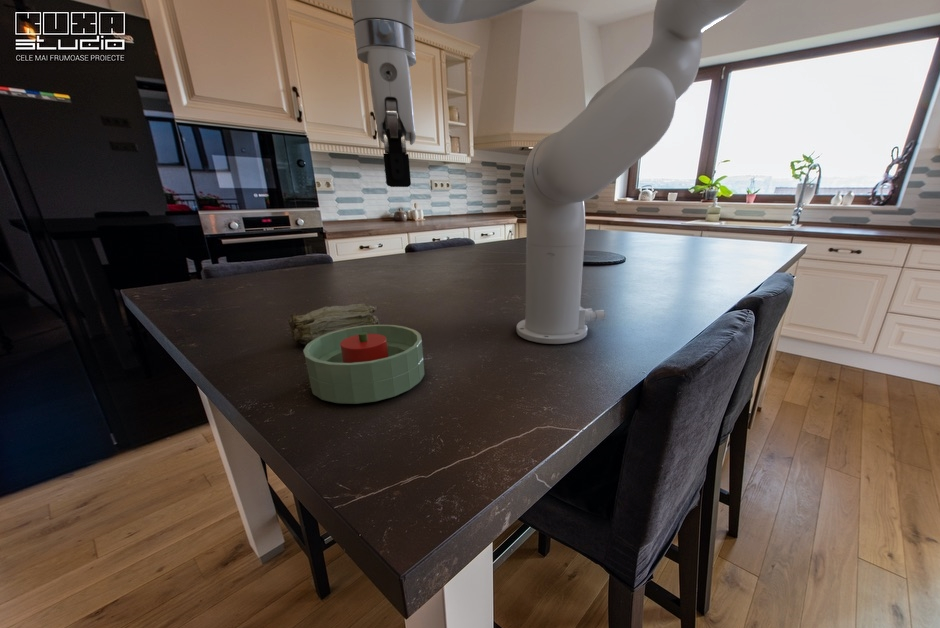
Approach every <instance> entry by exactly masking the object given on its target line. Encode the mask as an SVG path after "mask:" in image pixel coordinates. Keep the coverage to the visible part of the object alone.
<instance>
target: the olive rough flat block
mask: <svg viewBox="0 0 940 628" xmlns="http://www.w3.org/2000/svg"><path fill="white" fill-rule="evenodd" d="M377 308H378V305H371V304H369V305H366V304H365V302H362V303H356V304H355V303H350V304H348V305H332V306H330V305H329V306H326V305H325V306H323V307H321V308H318V309H314V310H312V311H310V312H307V313H305V314H302V315H299V314H297V313H292V314H291V315H290V318H289V319H288V324H289V327H290V330H289V331H290V336H291V338H293V340H294V341H295V342H296V343H299V344H301V345H303V346H306V345H307V344H308V343H309V342H311V341H312V340H314V339H315V338H317V337H320V336H322V335H325V334H327V333H330V332H334V331H337V330H341V329H345V328H351V327H357V326H365V325H381V323H380V322H379V317H378V316H377V315H373V313H375V312H376V311H377Z"/></svg>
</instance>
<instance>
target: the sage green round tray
mask: <svg viewBox="0 0 940 628" xmlns="http://www.w3.org/2000/svg"><path fill="white" fill-rule="evenodd" d="M362 332H366V333H367V334H380V335H383V336H385V337H386V340H387V349H388V357H387V358H382V359H377V360H373V361H366V362H355V363H343V359H342V352H341V346H340V343H341V341H343V340H344V339H346V338H348V337H351V336H355V335H358V334H359V333H362ZM302 353H303V357H304V363H305V366H306V367H305V369H306V372H307V377H308V382H309V388H310V390H311V393H312V395H313V396H315V397H317V398H319V399H320V400H322V401H326V402H330V403H334V404H347V405H348V404H349V405H350V404H351V405H352V404H353V405H358V404H367V403H375V402H379V401H383V400H386V399H391V398H393V397H396V396H399V395H401V394H403V393H405V392H408V391H410V390H411V389H413V388H414V387H415V386H417V385H418V384H419V383H421V381H422V380H423V378H424V377H425V376H426V375H425V374H426V373H425V372H426V371H425V361H424V349H423V340H422V334H421V333H420V332H419V331H417V330H416V329H413V328H411V327H407V326H403V325H396V324H380V325H365V326H357V327H351V328H345V329H341V330H337V331H334V332H330V333H327V334H325V335H322V336H320V337H317V338H315V339H314V340H312V341H311V342H309V343H308V344H307V345H305V346H304V348H303V350H302Z"/></svg>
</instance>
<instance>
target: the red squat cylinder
mask: <svg viewBox="0 0 940 628" xmlns="http://www.w3.org/2000/svg"><path fill="white" fill-rule="evenodd" d="M340 346H341V352H342V359H343V363H355V362H366V361H373V360H377V359H382V358H387V357H388V349H387V340H386V337H385V336H383V335H380V334H367V333H366V332H362V333H359V334H358V335H355V336H351V337H348V338H346V339H344V340H343V341H341V343H340Z"/></svg>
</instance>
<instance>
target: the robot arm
mask: <svg viewBox="0 0 940 628" xmlns="http://www.w3.org/2000/svg"><path fill="white" fill-rule="evenodd" d="M536 1H537V0H416V3H417V5H418V7H419V9H421V11H422V12H423V14H425V16H426V17H428V18H429V19H430V20H432V21H434V22H436V23H439V24H444V25H454V24H455V25H456V24H462V23H469V22H473V21H479V20H480V21H481V20H484V19H489V18H493V17H496V16H500V15H502V14H505V13H508V12H510V11H513V10H516V9H518V8H520V7H523V6H526V5H529V4H531V3H534V2H536ZM748 1H749V0H656V2H655V7H654V10H653V21H652V22H653V23H652V38H651V42H650V44H649V46H648V48H646V50H645V51H644V52H642V54H640V56H638V58H636V59H635V60H634V61H633V62H632V63H631V64H630V65H629V66H628V67H627V68H626V69H625V70H623V72H621V73H620V74H619V75H618V76H616V78H614V79H612V80H611V81H610V82H608V83H607V84H605V85H603V87H601V88H600V89H599V90H598V91H597V92H596V93H595V94H594V95H593V97H592V98H591V99H590V100H589V102H588V103H587V104H586V107H585V109H583V110H582V111H581V112H580V113H579V114H578V115H577V116H575V117H574V119H572V120H571V121H570V122H569V123H567V124H566V125H565V126H564V127H562V129H560V130H559V131H556V132H554V133H552V134H550V135H547V136H545V137H544V138H542V139H541V140H540V141H538V142H537V143H536V144H535V145H534V146H533V147H532V149H531V151H530V152H529V154H528V156H527V159H526V162H525V166H524V173H523V176H524V177H523V179H524V180H523V184H524V185H523V186H524V196H525V197H524V198H525V216H526V235H525V236H526V241H525V246H526V247H525V305H524V307H525V311H524V318H523V319H522V320H520V321H519V322H517V324H516V334H517V335H518V336H519V337H520V338H522V339H524V340H526V341H530V342H534V343H537V344H545V345H564V344H572V343H576V342H579V341H581V340H583V339H585V338H586V337H587V335H588V326H587V325H586V324H589V323H590V322H604V321H605V320H606V317H607V315H606V311H605V310H604V309H599V310H598V309H597V310H593V308H590V307H589V308H584V307H582V306H581V299H582V286H583V285H582V284H583V266H584V252H585V242H586V241H585V239H586V209H585V201H588V200H590V199H592V198H594V197H595V196H597V195H599V194H600V193H601V192H602V191H604V190H605V189H606V188H607V187H609V186H610V185H611V184H612V183H613V182H615V181H616V180H617V179H619V178H620V176H622V175H623V174H625V172H626V171H627V170H629V169H631V167H632V166H634V165H635V164H636V163H637V162H638V161H639V160H640V159H641V158H643V157H644V156H645V155H646V154H647V153H648V152H650V151H651V150H652V149H653V148H654V147H655V146H656V145H657V144H658V143H659V142H660V141H661V140H662V139H663V137H664V136H665V135H666V133H667V132H668V130H669V128H670V127H671V125H672V122H673V119H674V117H675V113H676V107H677V106H676V105H677V101H679V99H681V98H682V97H683V96H684V95H685V94H686V92H687V91H688V90H689V89H690V88H691V86H692V85H693V84H694V82H695V80H696V78H697V75H698V72H699V70H700V69H699V68H700V64H701V59H702V51H703V35H704V31H705V30H707V29H709V28H711V27H712V26H713V25H715V24H716V23H719V22H720V21H721V20H723V19H725V18H727V17H728V16H731V14H734V13H735V12H736V11H737V10H739V9H740V8H742V6H744V5H745V4H747V2H748ZM350 3H351V13H352V22H353V29H354V39H355V49H356V57H357V59H358V61H360V62H361V63H363V64H366V65H367V69H368V78H369V85H370V94H371V102H372V108H373V109H372V110H373V114H374V120H375V125H376V130H377V134H378V137H379V140H380V142H382V143H383V146H384V153H383V154H382V155H383V164H384V165H383V166H384V173H385V174H384V175H385V183H386V185H387V186H388V187H389V188H409V187H411V185H412V184H411V183H412V180H411V179H412V178H411V167H410V156H409V153H408V152H407V143H406V142H409V145H411V146H412V145H414V144H415V142H416V127H415V114H414V102H413V88H412V80H411V79H412V78H411V71H410V68H411V67H413V66H414V65H415V66H416V64H417V55H416V54H417V52H416V41H415V26H414V15H413V14H414V12H413V11H414V10H413V0H350Z"/></svg>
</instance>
